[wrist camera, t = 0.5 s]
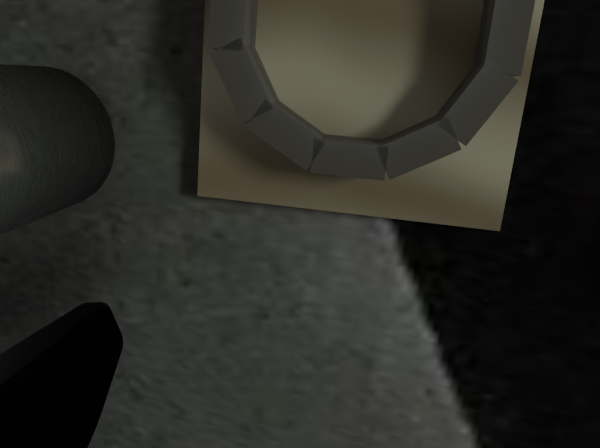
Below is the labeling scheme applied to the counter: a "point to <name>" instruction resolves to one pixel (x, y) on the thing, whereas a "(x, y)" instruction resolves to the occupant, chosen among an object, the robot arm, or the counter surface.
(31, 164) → the steel peg
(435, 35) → the socket plate
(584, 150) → the counter surface
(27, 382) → the robot arm
